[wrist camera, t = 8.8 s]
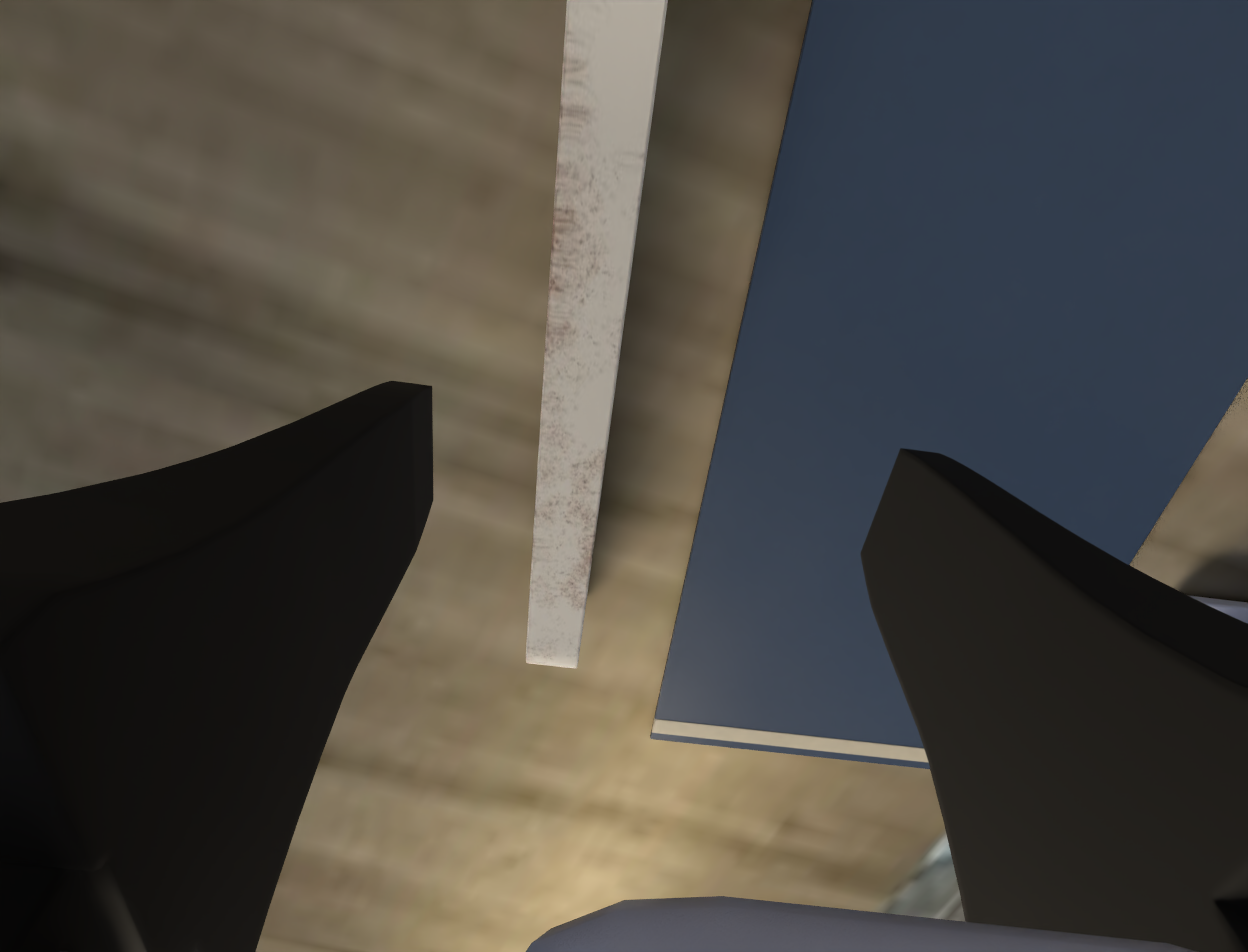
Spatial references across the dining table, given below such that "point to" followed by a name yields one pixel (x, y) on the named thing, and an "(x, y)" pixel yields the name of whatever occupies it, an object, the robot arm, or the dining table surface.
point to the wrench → (587, 297)
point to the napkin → (961, 326)
